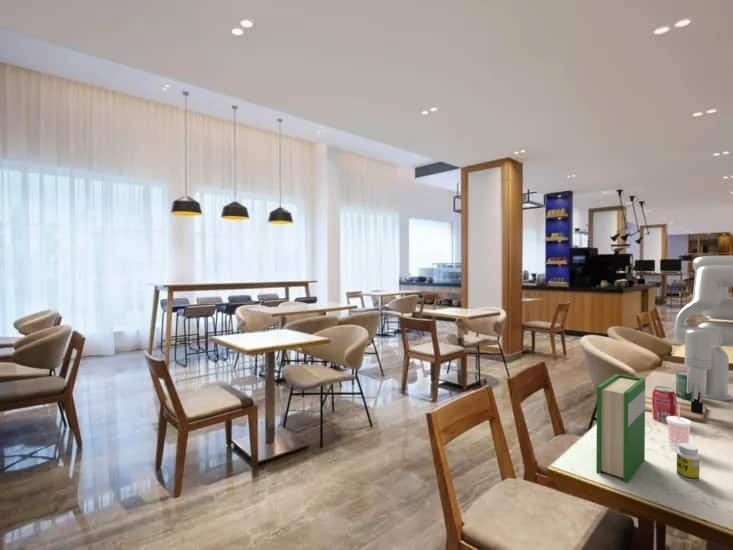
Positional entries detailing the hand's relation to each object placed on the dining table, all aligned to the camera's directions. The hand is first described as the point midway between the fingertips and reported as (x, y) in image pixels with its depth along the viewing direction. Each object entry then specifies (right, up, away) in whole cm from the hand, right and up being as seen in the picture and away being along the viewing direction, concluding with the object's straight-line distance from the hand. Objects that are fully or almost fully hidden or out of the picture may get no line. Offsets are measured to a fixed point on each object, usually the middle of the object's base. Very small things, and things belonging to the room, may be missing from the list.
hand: (696, 412), depth 146 cm
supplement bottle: (-36, -4, -40) cm, 54 cm away
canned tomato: (+12, -2, +19) cm, 23 cm away
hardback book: (-50, -4, -34) cm, 60 cm away
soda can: (-15, -3, -3) cm, 15 cm away
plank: (-1, -2, +3) cm, 4 cm away
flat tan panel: (-8, -2, +11) cm, 13 cm away
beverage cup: (-25, -3, -24) cm, 35 cm away
